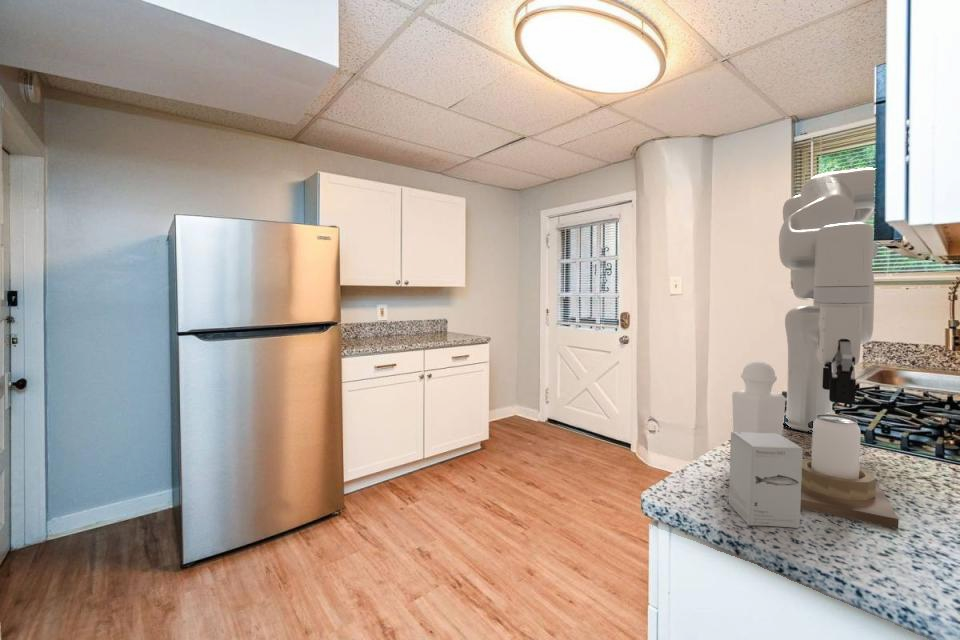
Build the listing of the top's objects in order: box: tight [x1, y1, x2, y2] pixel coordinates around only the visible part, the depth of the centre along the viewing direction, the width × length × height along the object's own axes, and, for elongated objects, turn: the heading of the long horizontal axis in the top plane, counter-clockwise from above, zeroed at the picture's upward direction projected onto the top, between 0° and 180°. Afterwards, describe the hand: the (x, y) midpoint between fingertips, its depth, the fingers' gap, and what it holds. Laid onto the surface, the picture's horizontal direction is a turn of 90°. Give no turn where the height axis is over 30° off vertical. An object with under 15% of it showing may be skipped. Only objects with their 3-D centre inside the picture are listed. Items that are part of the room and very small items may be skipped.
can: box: [811, 413, 862, 479], centre depth 75 cm, size 6×6×12 cm
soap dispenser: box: [731, 360, 786, 436], centre depth 86 cm, size 6×6×22 cm
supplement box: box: [728, 431, 804, 529], centre depth 68 cm, size 7×7×13 cm
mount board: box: [800, 457, 900, 530], centre depth 75 cm, size 18×13×4 cm
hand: (837, 395), depth 75 cm, fingers open, 9 cm apart
